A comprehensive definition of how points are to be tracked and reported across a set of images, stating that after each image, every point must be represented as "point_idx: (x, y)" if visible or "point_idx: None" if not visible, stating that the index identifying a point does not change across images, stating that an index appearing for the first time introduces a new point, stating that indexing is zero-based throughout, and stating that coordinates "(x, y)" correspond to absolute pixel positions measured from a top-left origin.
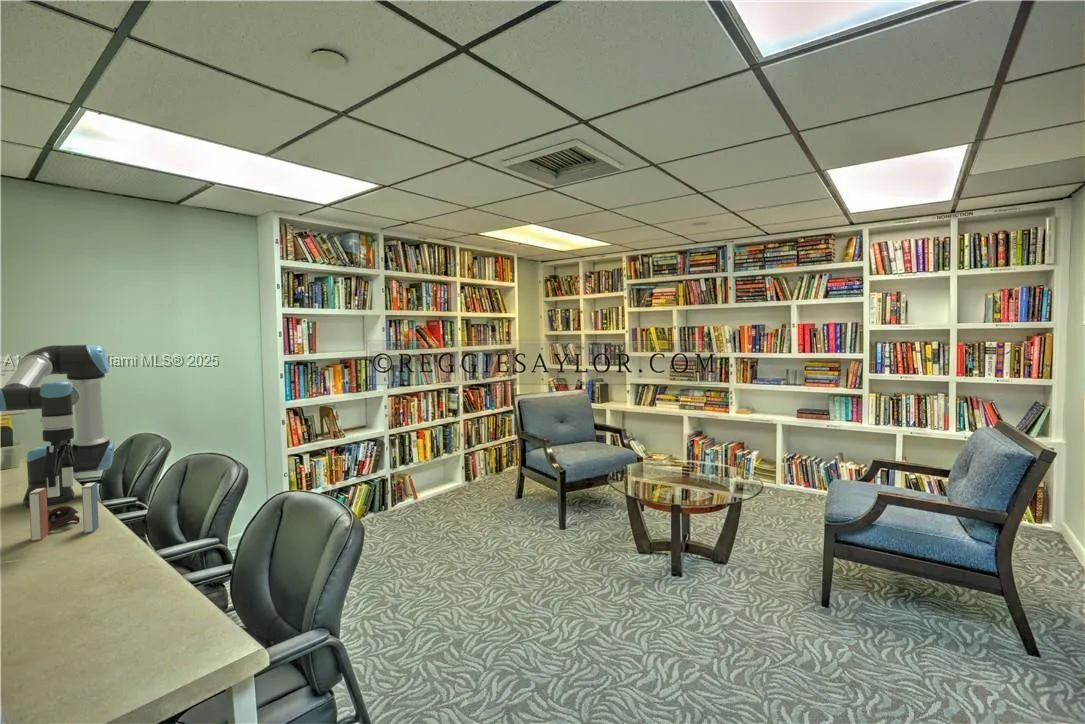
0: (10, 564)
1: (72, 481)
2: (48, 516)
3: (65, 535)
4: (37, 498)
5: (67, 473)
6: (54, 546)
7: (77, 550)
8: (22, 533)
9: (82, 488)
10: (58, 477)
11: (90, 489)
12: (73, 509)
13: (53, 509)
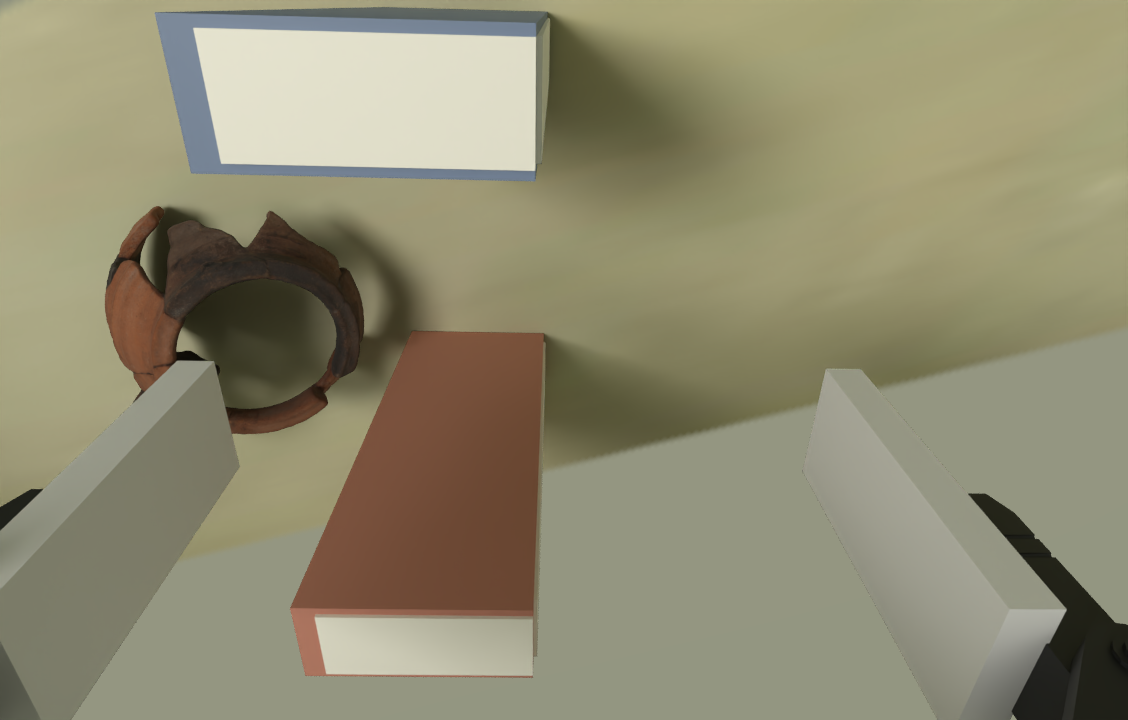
0: (991, 354)
1: (177, 402)
2: (279, 407)
3: (508, 214)
4: (536, 566)
5: (104, 566)
6: (770, 213)
7: (1024, 17)
8: (305, 475)
9: (532, 168)
10: (1015, 580)
11: (542, 39)
12: (216, 263)
13: None
